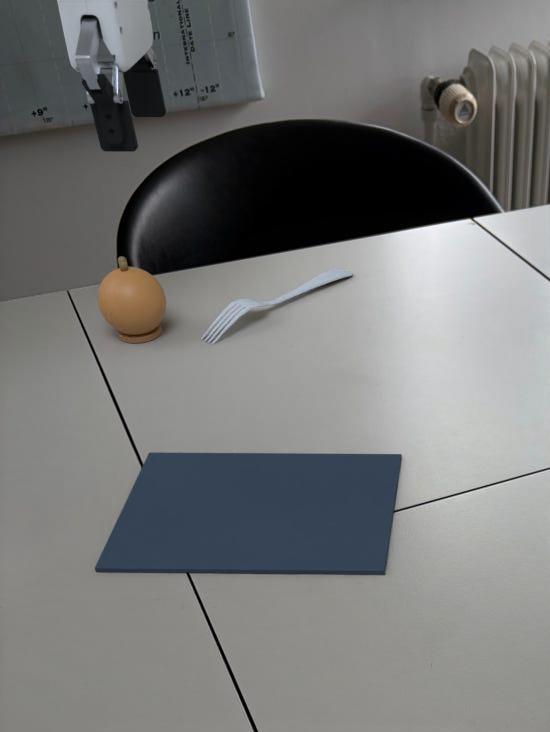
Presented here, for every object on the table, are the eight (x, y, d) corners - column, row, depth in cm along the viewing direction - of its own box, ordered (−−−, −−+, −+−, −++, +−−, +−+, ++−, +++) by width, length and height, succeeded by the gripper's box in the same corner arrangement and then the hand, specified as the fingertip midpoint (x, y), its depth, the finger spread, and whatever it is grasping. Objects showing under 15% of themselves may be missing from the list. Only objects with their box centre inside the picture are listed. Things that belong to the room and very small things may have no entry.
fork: (357, 296, 119) (357, 272, 117) (216, 346, 105) (213, 319, 104) (339, 290, 120) (339, 265, 118) (197, 338, 107) (194, 311, 105)
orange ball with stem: (99, 348, 105) (77, 270, 100) (117, 319, 110) (97, 243, 105) (164, 348, 105) (145, 270, 100) (179, 319, 110) (162, 243, 104)
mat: (95, 572, 79) (94, 568, 79) (150, 456, 91) (149, 452, 90) (384, 574, 78) (384, 570, 78) (401, 457, 90) (401, 453, 90)
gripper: (74, -110, 90) (122, 104, 102) (0, -75, 78) (64, 165, 89) (159, -110, 90) (197, 104, 102) (99, -75, 77) (151, 165, 89)
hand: (135, 132), depth 95 cm, fingers open, 9 cm apart
